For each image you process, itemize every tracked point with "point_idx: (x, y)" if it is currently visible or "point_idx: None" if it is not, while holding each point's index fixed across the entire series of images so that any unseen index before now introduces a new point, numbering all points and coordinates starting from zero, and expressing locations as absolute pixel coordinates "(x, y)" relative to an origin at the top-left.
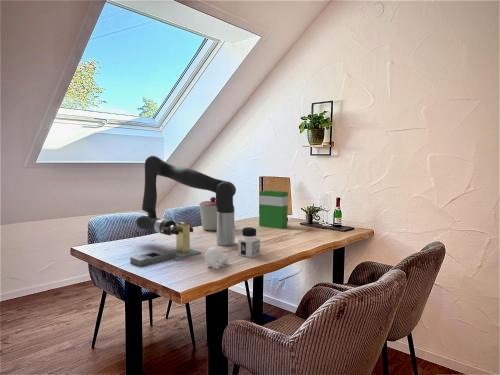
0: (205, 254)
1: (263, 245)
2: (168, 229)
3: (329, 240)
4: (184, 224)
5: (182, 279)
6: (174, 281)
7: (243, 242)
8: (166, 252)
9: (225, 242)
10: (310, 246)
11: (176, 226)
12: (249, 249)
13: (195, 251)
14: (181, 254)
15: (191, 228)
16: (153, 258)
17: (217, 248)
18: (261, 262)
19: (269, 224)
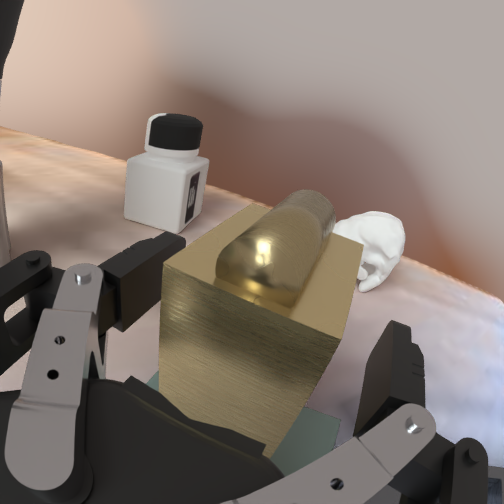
0: (400, 253)
1: (38, 192)
2: (470, 439)
3: (31, 139)
4: (334, 217)
5: (478, 317)
6: (495, 326)
7: (195, 175)
8: (399, 492)
9: (6, 253)
10: (73, 151)
11: (328, 363)
12: (202, 190)
13: None
14: (295, 439)
15: (178, 246)
16: (499, 470)
17: (375, 211)
18: (242, 204)
19: None
